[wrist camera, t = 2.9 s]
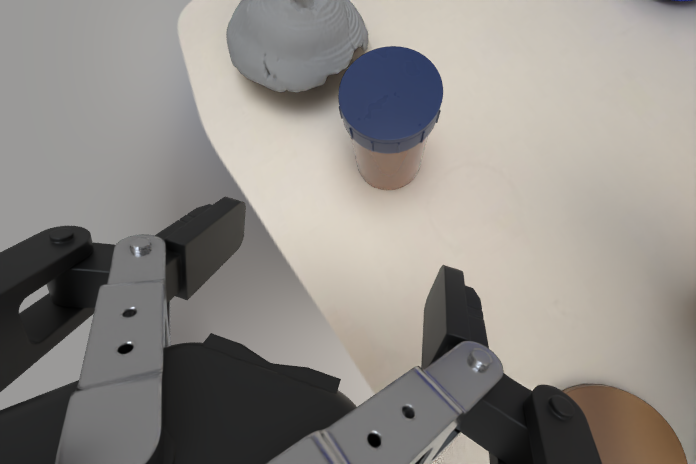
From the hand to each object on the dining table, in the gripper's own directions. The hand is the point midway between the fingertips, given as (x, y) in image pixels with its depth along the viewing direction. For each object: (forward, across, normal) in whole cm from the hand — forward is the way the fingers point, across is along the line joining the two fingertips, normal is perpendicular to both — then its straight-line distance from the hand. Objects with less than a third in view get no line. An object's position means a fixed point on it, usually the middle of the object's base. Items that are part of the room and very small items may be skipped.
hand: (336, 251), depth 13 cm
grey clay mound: (+24, +11, -4) cm, 27 cm away
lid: (+11, 0, -5) cm, 12 cm away
